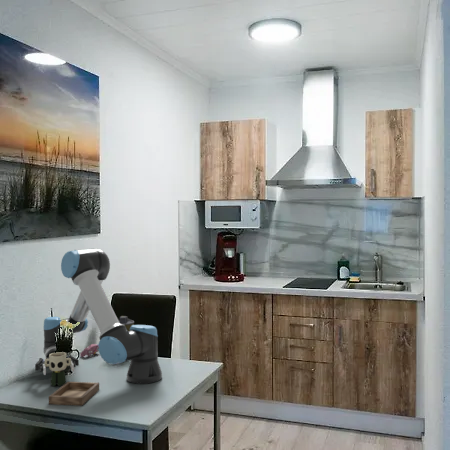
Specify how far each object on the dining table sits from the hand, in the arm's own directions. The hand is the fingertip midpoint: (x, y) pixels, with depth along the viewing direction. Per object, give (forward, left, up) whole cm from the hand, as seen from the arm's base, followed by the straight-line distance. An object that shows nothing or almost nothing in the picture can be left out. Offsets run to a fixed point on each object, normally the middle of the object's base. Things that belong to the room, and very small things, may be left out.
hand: (58, 369), depth 220 cm
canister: (-12, -49, -8) cm, 51 cm away
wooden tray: (-11, +9, -8) cm, 16 cm away
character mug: (+2, -4, -8) cm, 9 cm away
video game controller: (+5, -48, -8) cm, 49 cm away
